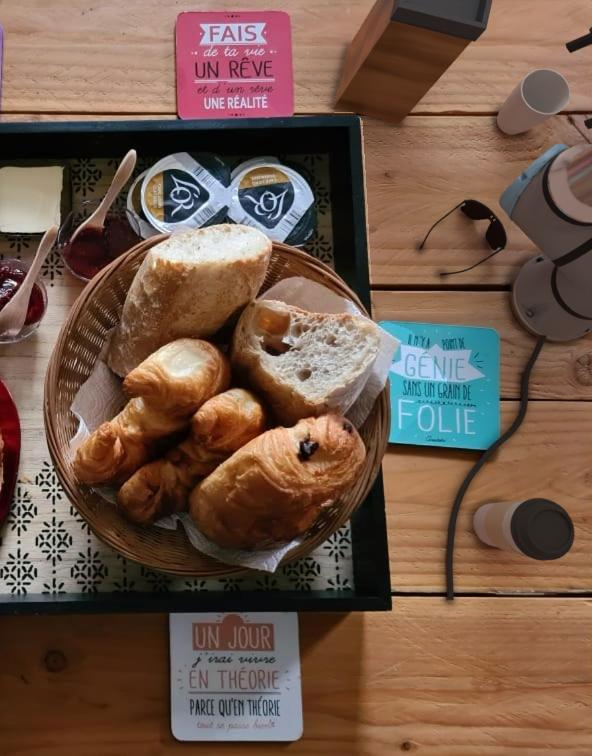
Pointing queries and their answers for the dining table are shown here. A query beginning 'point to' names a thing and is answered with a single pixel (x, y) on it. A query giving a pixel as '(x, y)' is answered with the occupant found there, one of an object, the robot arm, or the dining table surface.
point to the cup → (534, 101)
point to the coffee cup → (526, 528)
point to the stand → (393, 65)
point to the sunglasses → (494, 232)
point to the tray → (445, 16)
